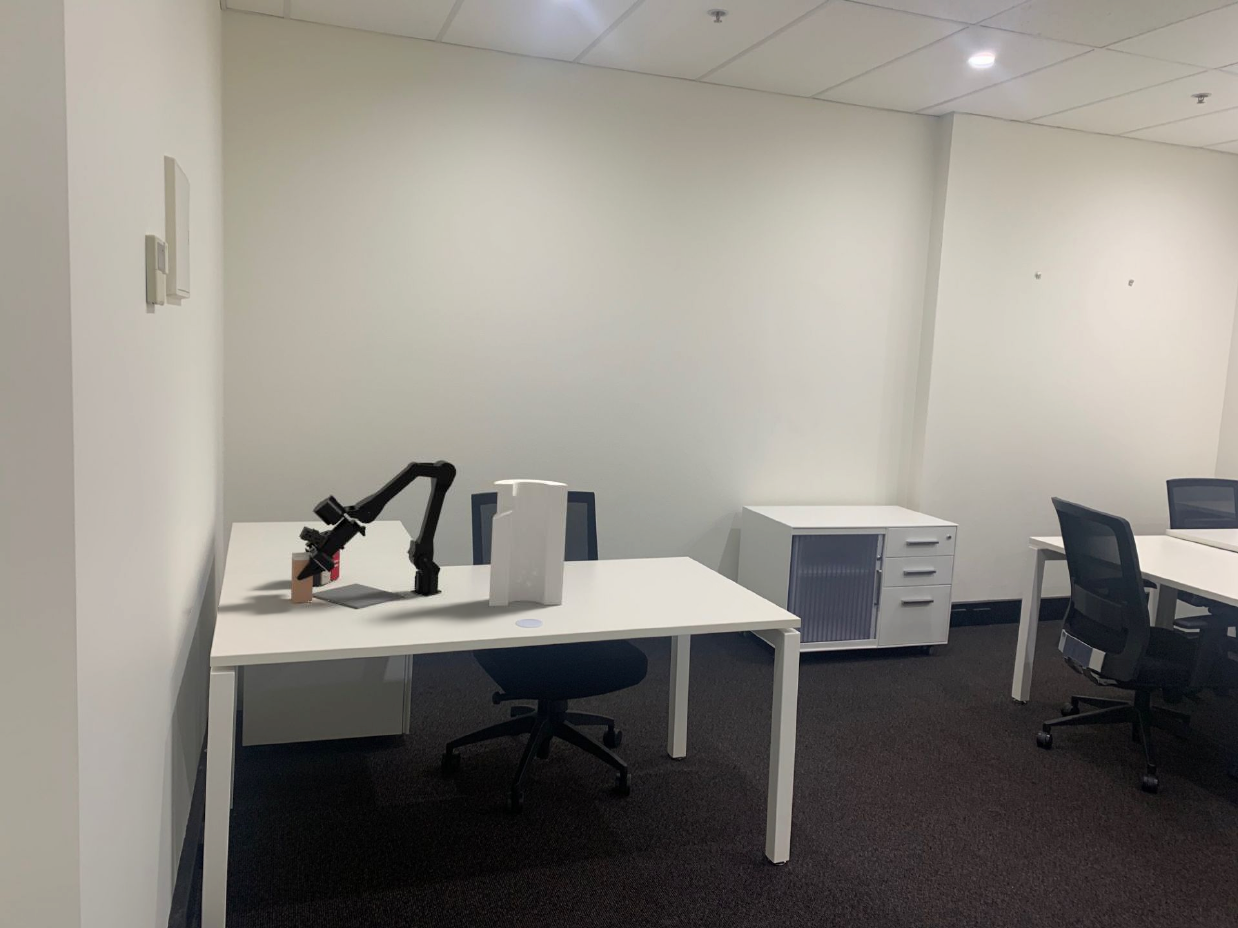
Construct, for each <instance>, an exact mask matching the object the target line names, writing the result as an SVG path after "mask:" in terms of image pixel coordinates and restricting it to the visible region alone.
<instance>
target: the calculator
mask: <svg viewBox="0 0 1238 928" xmlns="http://www.w3.org/2000/svg"><path fill="white" fill-rule="evenodd" d="M331 530H332V529H328V530H324V531H321V532H320V531H319V532H320V533H322V534H323V533H325V532H326V531H329V532H330V531H331ZM340 552H341V550H340V551H338V552H337V553H336V554H335V555H334V556H333V558H334V559H333V561H334V563H335V565H334V568H333V569H332V570H331V571H330V572H328V571H327V570H326V571H325V572H321V573H318V574H316V575H313V585H314V587H322V586H324V585H326V584H325V583H327V584H329V583H331V582H334V581H335V580H338V579H339V578H340V563H341V562H340V559H341V556H340V555H341V553H340ZM333 580H334V581H333ZM330 581H331V582H330ZM328 582H329V583H328ZM321 585H322V586H321Z"/></svg>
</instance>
